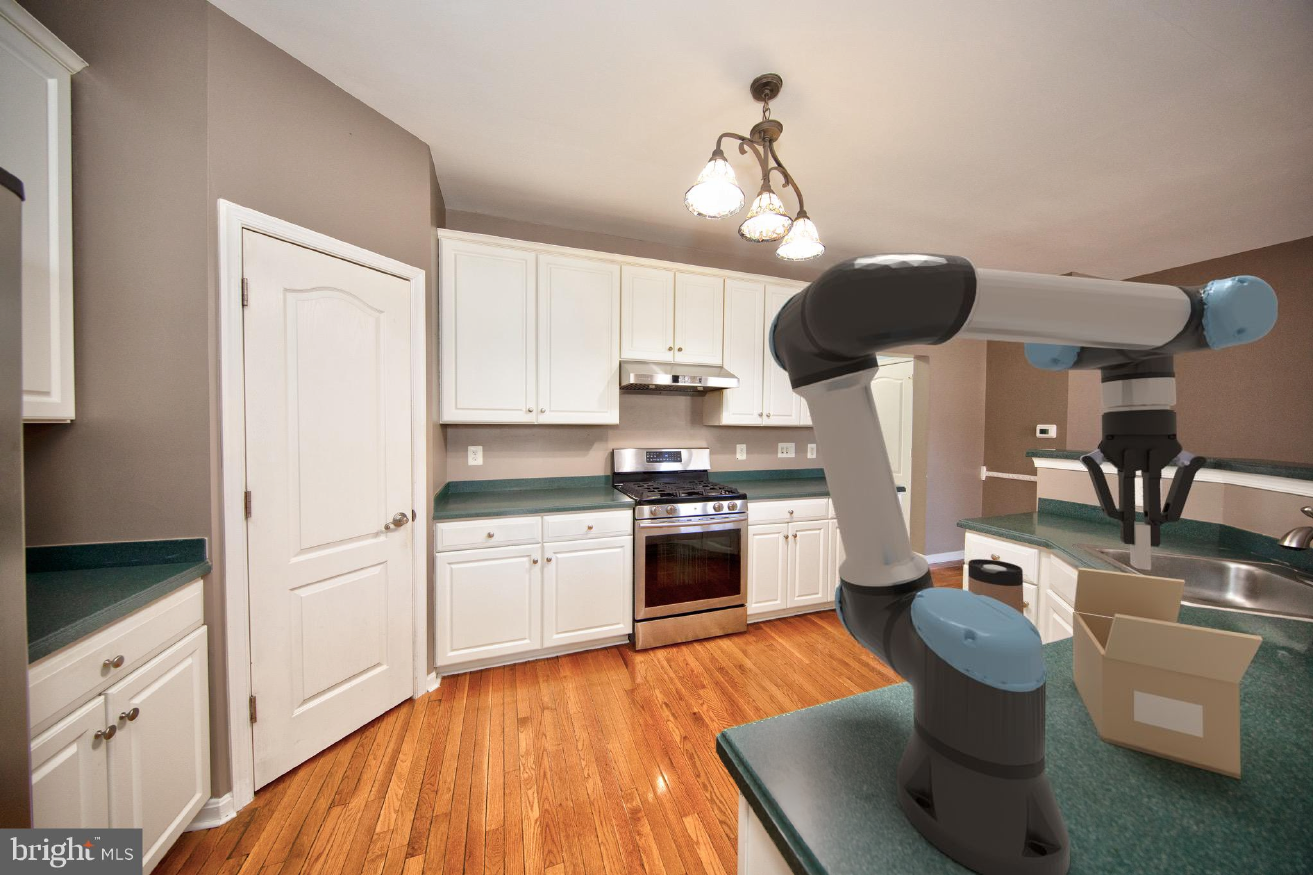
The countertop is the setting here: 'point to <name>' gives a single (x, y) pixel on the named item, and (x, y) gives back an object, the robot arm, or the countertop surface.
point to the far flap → (1128, 595)
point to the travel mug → (997, 581)
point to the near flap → (1181, 647)
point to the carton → (1156, 704)
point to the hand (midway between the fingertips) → (1140, 566)
